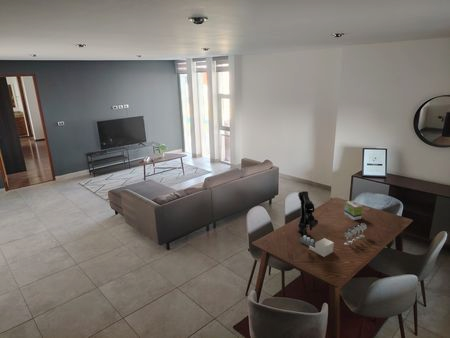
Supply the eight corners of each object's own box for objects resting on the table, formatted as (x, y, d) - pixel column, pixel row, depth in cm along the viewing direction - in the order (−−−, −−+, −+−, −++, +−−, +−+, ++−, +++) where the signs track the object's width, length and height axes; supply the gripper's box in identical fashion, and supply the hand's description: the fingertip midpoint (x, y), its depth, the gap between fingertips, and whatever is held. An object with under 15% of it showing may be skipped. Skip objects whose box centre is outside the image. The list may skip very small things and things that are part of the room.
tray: (299, 241, 275) (300, 235, 274) (304, 239, 279) (304, 233, 277) (312, 248, 264) (312, 242, 263) (316, 245, 268) (317, 240, 266)
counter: (309, 248, 263) (309, 239, 261) (318, 244, 270) (318, 235, 267) (323, 256, 251) (324, 247, 249) (332, 251, 258) (333, 242, 255)
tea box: (343, 214, 325) (345, 201, 321) (351, 213, 328) (353, 200, 323) (353, 220, 311) (354, 207, 307) (361, 218, 314) (363, 205, 310)
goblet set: (347, 246, 266) (349, 232, 262) (342, 243, 271) (343, 229, 267) (366, 236, 281) (368, 223, 277) (361, 233, 285) (362, 220, 282)
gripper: (308, 222, 254) (307, 239, 258) (322, 216, 264) (321, 232, 269) (298, 218, 262) (297, 234, 267) (312, 211, 273) (311, 227, 277)
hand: (307, 232), depth 270 cm, fingers open, 9 cm apart
